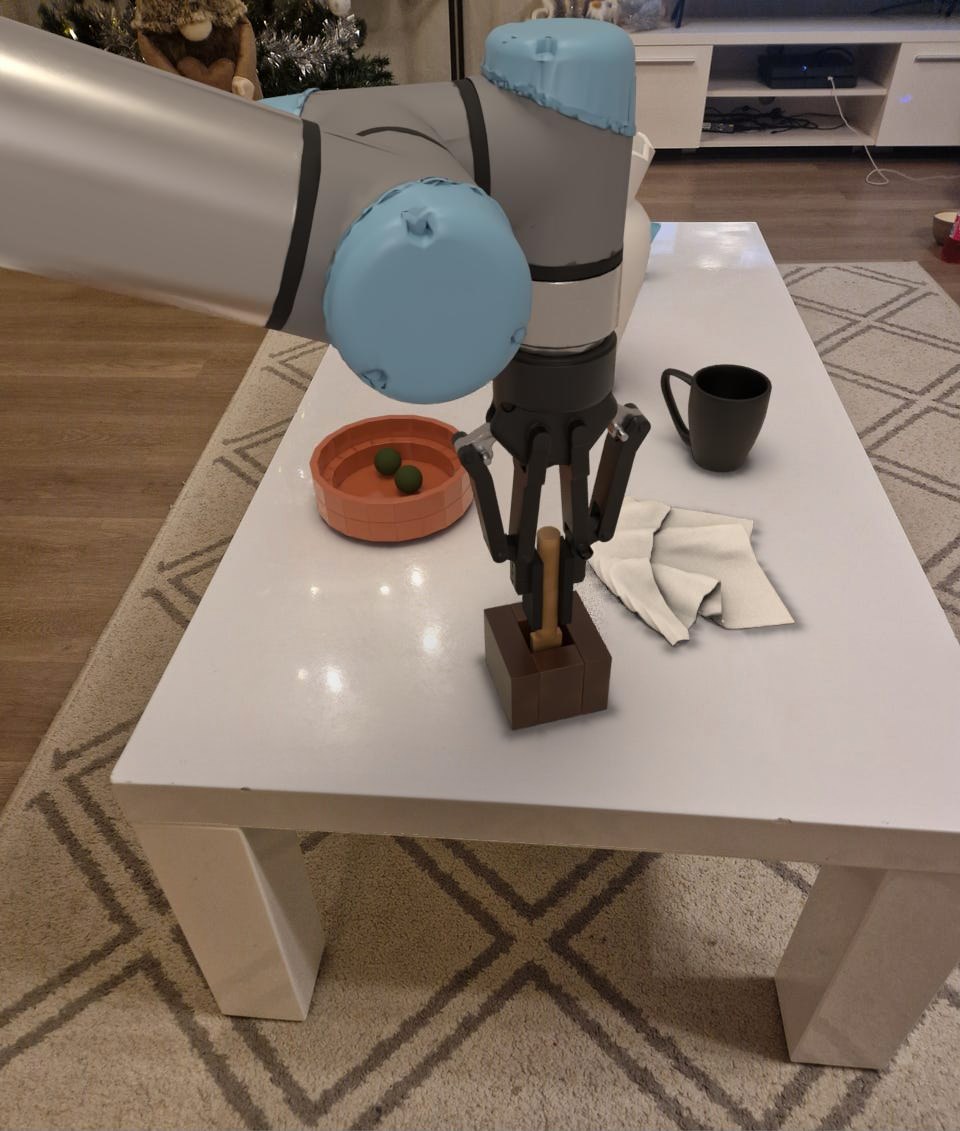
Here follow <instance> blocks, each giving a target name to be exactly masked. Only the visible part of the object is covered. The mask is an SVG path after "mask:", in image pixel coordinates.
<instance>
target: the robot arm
mask: <svg viewBox="0 0 960 1131" xmlns="http://www.w3.org/2000/svg"><path fill="white" fill-rule="evenodd" d="M483 49H484V50H483V51H484V52H483V60H482V62H481V63H480V74H477V75H470V76H466V77H464V78H463V79H453V80H449V81H437V82H424V83H423V82H422V83H411V84H410V83H409V84H397V85H396V84H395V85H384V86H371V87H370V86H369V87H357V88H356V87H355V88H341V89H329V90H320V88H319V87H311V88H307V89H305V90H303V92H301V93H294V94H288V95H287V94H286V95H281V96H275V97H274V96H273V97H268V98H262V99H259V100H254V99H251V98H248V97H246V96H245V97H244V96H241V95H239V94H237V93H236V94H235V93H232V92H230V91H227V90H223V89H221V88H218V87H214V86H212V85H209V84H207V83H203V82H200V81H196V80H193V79H190V78H187V77H185V76H181V75H178V74H176V73H173V72H170V71H168V70H167V71H166V70H163V69H161V68H158V67H155V66H152V65H148V64H146V63H143V62H140V61H137V60H135V59H131V58H128V57H125V56H122V55H119V54H115V53H113V52H110V51H106V50H104V49H101V48H97V47H95V46H92V45H89V44H86V43H83V42H80V41H77V40H74V39H71V38H68V37H65V36H63V35H59V34H57V33H54V32H53V33H52V32H50V31H47V30H44V29H42V28H38V27H36V26H32V25H29V24H27V23H23V22H20V21H17V20H14V19H11V18H8V17H6V16H3V15H0V268H3V269H7V270H11V271H16V272H19V273H25V274H28V275H29V274H30V275H33V276H38V277H42V278H45V279H51V280H55V281H59V282H63V283H67V284H73V285H76V286H82V287H86V288H89V289H90V288H91V289H94V290H99V291H104V292H107V293H112V294H116V295H120V296H125V297H129V298H134V299H138V300H143V301H147V302H151V303H155V304H159V305H164V306H169V307H171V308H172V307H173V308H177V309H180V310H181V309H182V310H186V311H190V312H195V313H199V314H202V315H208V316H212V317H216V318H219V319H220V318H221V319H224V320H227V321H228V320H229V321H232V322H233V321H234V322H237V323H242V324H246V325H251V326H256V327H259V328H263V329H268V330H272V331H276V332H281V333H285V334H288V335H291V336H296V337H299V338H304V339H308V340H311V341H315V342H320V343H323V344H328V345H331V346H332V347H333V349H335V350H337V352H338V354H339V356H340V358H341V360H342V361H343V362H344V363H345V364H346V366H347V367H348V369H349V370H351V371H352V372H353V374H354V375H355V376H356V377H357V378H358V379H359V380H360V381H361V382H362V383H364V384H365V385H367V386H368V387H369V388H370V389H372V390H374V391H376V392H377V393H379V394H381V395H382V396H385V397H386V398H388V399H390V400H394V401H397V402H400V403H403V404H404V403H405V404H411V405H421V406H424V405H425V406H427V405H428V406H429V405H439V404H444V403H449V402H453V401H456V400H459V399H463V398H465V397H467V396H469V395H471V394H473V393H476V392H477V391H478V390H480V389H482V388H484V387H485V386H487V385H488V384H489V383H490V382H492V399H491V402H490V405H489V407H488V409H487V411H486V413H485V423H483V424H482V425H480V426H479V427H477V428H476V429H474V430H473V431H471V432H470V433H467V432H466V431H462V430H461V431H460V430H458V431H459V432H456V433H455V434H454V435H453V436H452V438H451V443H452V445H453V447H454V450H455V452H456V454H457V456H458V458H459V461H460V463H461V465H462V466H463V467H464V469H465V470H466V471H467V472H468V475H469V479H470V483H471V488H472V492H473V499H474V500H473V501H474V504H475V508H476V513H477V516H478V522H479V525H480V529H481V533H482V537H483V541H484V543H485V546H486V547H487V549H488V551H489V554H490V557H491V559H492V561H493V562H494V563H495V564H502V563H505V562H506V561H509V580H510V582H511V584H512V587H513V589H514V591H515V593H516V594H517V596H522V597H521V602H522V609H523V611H524V613H525V615H526V618H527V620H528V622H529V624H530V626H531V629H532V631H537V630H542V613H543V569H544V564H543V562H542V560H541V558H540V556H539V554H538V553H537V547H536V542H537V531H538V524H539V523H538V522H539V515H540V505H541V496H542V487H543V486H544V485H545V483H546V478H547V469H549V468H551V467H554V466H558V470H559V472H558V473H559V487H560V488H559V489H560V505H561V520H562V532H563V534H564V535H562V534H561V538H560V566H559V594H558V617H559V619H560V621H561V623H562V625H565V624H570V623H572V606H573V591H574V587H575V586H574V585H575V584H579V583H583V582H584V580H585V578H586V575H587V574H586V573H587V571H586V570H587V561H588V559H590V558H591V557H592V556H593V553H594V551H593V550H592V548H591V545H592V544H593V543H595V542H597V541H601V542H608V541H610V540H611V539H612V538H613V536H614V533H615V529H616V526H617V522H618V518H619V514H620V511H621V507H622V503H623V500H624V496H626V492H627V488H628V484H629V480H630V477H631V473H632V469H633V466H634V462H635V458H636V454H637V451H638V450H639V449H640V447H641V445H642V444H643V442H644V441H645V439H646V438H647V436H648V435H649V433H650V431H651V429H652V424H651V422H650V420H648V418H647V417H646V416H645V415H644V413H642V411H641V410H640V409H639V407H638V406H637V405H636V404H635V403H633V402H628V403H625V404H624V405H622V404H620V403H618V401H617V399H616V397H615V395H614V393H613V387H614V385H615V373H616V360H617V352H616V348H617V335H616V333H615V331H614V329H615V328H616V327H617V326H618V322H619V312H620V297H621V282H622V267H623V248H624V245H623V244H624V242H623V239H624V229H625V218H626V208H627V198H628V187H629V177H630V167H631V156H632V146H633V136H635V135H636V134H637V126H636V125H637V124H636V104H637V75H636V58H637V57H636V48H635V44H634V41H633V39H632V37H631V36H630V35H629V33H628V32H627V31H626V30H624V28H622V27H620V26H618V25H617V24H615V23H611V22H609V21H605V20H600V19H594V18H581V17H580V18H579V17H550V18H549V17H546V18H535V19H534V18H533V19H532V18H531V19H526V20H524V21H521V22H507V23H505V24H502V25H499V26H497V27H495V28H493V29H492V30H491V31H490V32H489V34H488V35H487V36H486V39H485V42H484V48H483ZM606 430H607V433H606V435H605V438H604V443H603V447H602V450H601V455H600V460H599V463H598V466H597V467H598V468H597V471H596V476H595V480H594V484H593V489H592V492H591V497H590V501H589V483H588V482H589V479H588V478H589V476H590V474H591V467H590V466H591V464H590V462H591V461H590V451H591V450H592V448H593V447H594V446H595V445H596V443H597V442H598V441H599V439H600V438H601V436H602V435H603V434H604V433H605V431H606ZM495 442H498V444H500V445H501V447H503V449H505V451H506V452H507V453H508V454H509V455H510V456H511V457H512V464H513V476H512V486H511V498H510V499H511V500H510V509H509V510H510V511H509V522H508V532H506V533H505V529H504V524H503V520H502V515H501V510H500V505H499V501H498V496H497V492H496V487H495V483H494V478H493V476H492V473H491V471H490V470H489V467H488V466H490V465H492V462H493V458H494V452H493V445H494V444H495Z"/></svg>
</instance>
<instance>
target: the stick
mask: <svg viewBox="0 0 960 1131" xmlns="http://www.w3.org/2000/svg"><path fill="white" fill-rule="evenodd" d="M561 536H562V534H561V531H560V530H559V529H558V528H557V527H555V526H551V525H546V526H545V525H544V526H542V527H540V528H538V529H537V532H536V550H537V553H538V554H539V556H540V558H541V560H542V562H543V564H544V569H543V613H542V630H537V631H535V632H532V633H530V653H531V654H532V653H536V652H540V651H545V650H549V649H554V648H559V647H562V632H561V630H560V628H559V627H557V622H558V594H559V566H560V538H561Z"/></svg>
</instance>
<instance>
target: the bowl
mask: <svg viewBox="0 0 960 1131" xmlns="http://www.w3.org/2000/svg"><path fill="white" fill-rule="evenodd" d="M459 431H460V430H459V429H457V428H456V426H454V425H452V424H450V423H446V422H445V421H442V420H439V419H437V418H434V417H428V416H422V415H417V414H385V415H379V416H372V417H368V418H367V417H366V418H364V419H361V420H357V421H355V422H351V423H348V424H346V425H343V426H341V427H340V428H338V429H336V430H334V431H333V432H331V433H330V434H327V435H326V436H325V437H324V438H323V439H322V440H321V441H320V442H319V443H318V444H317V445H316V446H315V448H314V449H313V451H312V454H311V457H310V460H309V463H308V464H309V469H310V474H311V480H312V485H313V489H314V495H315V496H314V497H315V501H316V505H317V506H316V507H317V511H318V514H319V515H320V517H322V519H323V520H324V521H325V523H327V525H328V526H329V527H330V528H332V529H333V530H336V531H338V532H340V533H341V534H344V535H345V536H348V537H350V538H351V537H352V538H356V539H359V540H360V539H361V540H365V541H368V542H402V541H403V542H404V541H409V540H413V539H414V540H415V539H420V538H423V537H426V536H429V535H431V534H433V533H436V532H439V531H441V530H444V529H446V528H448V527H449V526H450V525H452V524H453V523H454V522H456V521H457V520H458V519H460V518H461V517H462V516H463V515H465V513H466V511H467V510H468V508H469V507H470V505H471V504H472V502H473V501H474V500H473V499H474V496H473V492H472V488H471V483H470V479H469V475H468V472H467V471H466V470H465V469H464V467H463V466H462V465H461V463H460V461H459V458H458V456H457V454H456V452H455V450H454V447H453V445H452V443H451V438H452V436H453V435H454V434H455V433H456V432H459ZM383 448H392V449H394V450H396V451H397V452H398V453H399V454H400V456H401V459H402V464H401V467H402V466H404V465H412V466H415V467H417V468H418V469H419V470H420V472H421V473H422V476H423V482H422V485H421V487H420V488H419V489H418V490H417V491H416V492H414V493H404V492H402V491H400V490H399V489H398V488H397V487H396V485H395V481H394V477H395V474H393V475H383V474H381V473H379V472H378V471H377V469H376V468H375V465H374V458H375V455H376V454H377V452H378V451H379V450H381V449H383Z"/></svg>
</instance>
